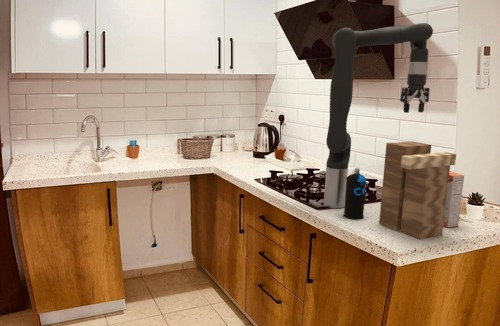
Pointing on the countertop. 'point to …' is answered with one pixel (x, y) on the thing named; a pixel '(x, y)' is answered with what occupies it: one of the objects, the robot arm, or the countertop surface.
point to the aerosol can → (355, 195)
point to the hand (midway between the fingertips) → (413, 112)
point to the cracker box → (453, 200)
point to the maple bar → (428, 160)
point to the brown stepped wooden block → (413, 193)
